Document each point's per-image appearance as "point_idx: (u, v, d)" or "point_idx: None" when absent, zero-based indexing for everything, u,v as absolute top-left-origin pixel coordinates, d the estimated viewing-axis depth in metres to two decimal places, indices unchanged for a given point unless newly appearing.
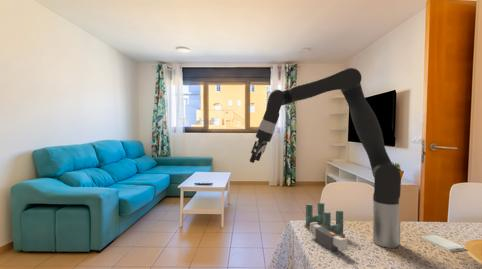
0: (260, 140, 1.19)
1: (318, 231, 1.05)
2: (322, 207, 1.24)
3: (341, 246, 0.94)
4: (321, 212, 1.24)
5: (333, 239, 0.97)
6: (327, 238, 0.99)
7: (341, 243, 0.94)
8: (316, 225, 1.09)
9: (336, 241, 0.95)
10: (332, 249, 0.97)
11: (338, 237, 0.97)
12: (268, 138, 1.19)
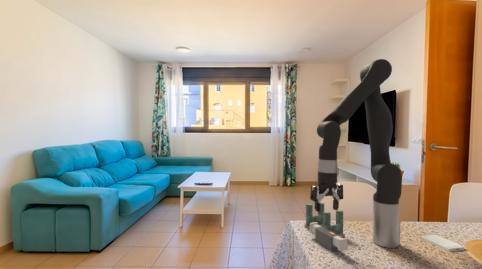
0: (319, 183, 1.01)
1: (318, 231, 1.05)
2: (322, 207, 1.24)
3: (341, 246, 0.94)
4: (321, 212, 1.24)
5: (333, 239, 0.97)
6: (327, 238, 0.99)
7: (341, 243, 0.94)
8: (316, 225, 1.09)
9: (336, 241, 0.95)
10: (332, 249, 0.97)
11: (338, 237, 0.97)
12: (327, 179, 0.99)
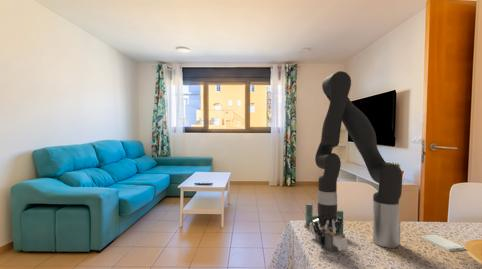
0: (319, 215, 1.01)
1: None
2: None
3: (341, 246, 0.93)
4: None
5: (333, 239, 0.97)
6: (327, 238, 0.99)
7: (341, 243, 0.94)
8: None
9: (336, 241, 0.95)
10: (332, 249, 0.97)
11: (338, 237, 0.97)
12: (327, 211, 0.99)
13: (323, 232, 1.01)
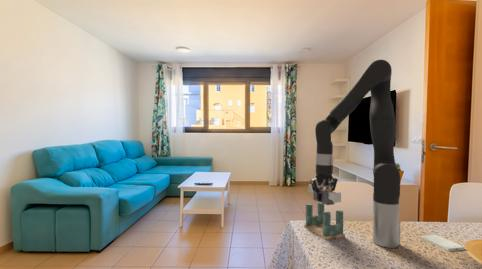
0: (317, 174, 1.15)
1: None
2: (322, 207, 1.24)
3: (335, 199, 1.08)
4: (321, 212, 1.24)
5: (329, 194, 1.11)
6: (324, 194, 1.13)
7: (335, 196, 1.08)
8: None
9: (331, 195, 1.10)
10: (328, 203, 1.12)
11: (333, 192, 1.11)
12: (324, 171, 1.13)
13: (320, 189, 1.15)
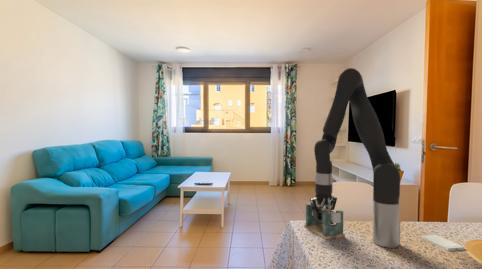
0: (317, 194, 1.16)
1: None
2: None
3: (335, 220, 1.08)
4: None
5: None
6: None
7: (335, 217, 1.08)
8: None
9: (331, 215, 1.10)
10: None
11: (333, 212, 1.11)
12: (324, 190, 1.13)
13: (320, 209, 1.15)
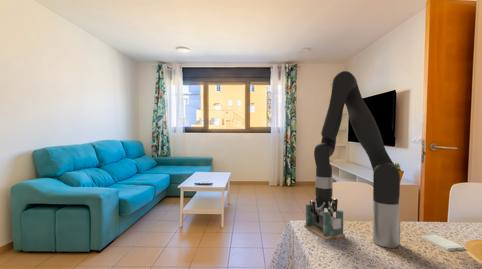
0: (317, 197, 1.16)
1: None
2: None
3: (335, 225, 1.08)
4: None
5: None
6: None
7: (335, 222, 1.08)
8: None
9: (331, 221, 1.10)
10: None
11: (333, 218, 1.11)
12: (324, 194, 1.13)
13: (318, 211, 1.15)
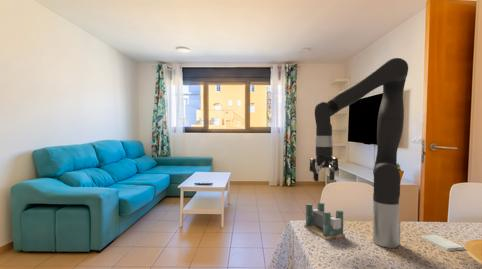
0: (317, 156, 1.16)
1: (316, 214, 1.19)
2: (322, 207, 1.24)
3: (335, 225, 1.08)
4: None
5: None
6: None
7: (335, 222, 1.08)
8: (314, 209, 1.24)
9: (331, 221, 1.10)
10: None
11: (333, 218, 1.11)
12: (324, 152, 1.14)
13: (318, 169, 1.15)
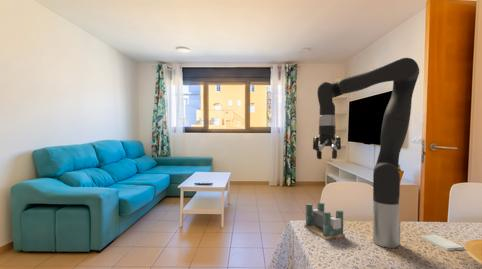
0: (320, 135, 1.20)
1: (316, 214, 1.19)
2: (322, 207, 1.24)
3: (335, 225, 1.08)
4: None
5: None
6: None
7: (335, 222, 1.08)
8: (314, 209, 1.24)
9: (331, 221, 1.10)
10: None
11: (333, 218, 1.11)
12: (327, 130, 1.17)
13: (321, 147, 1.18)
